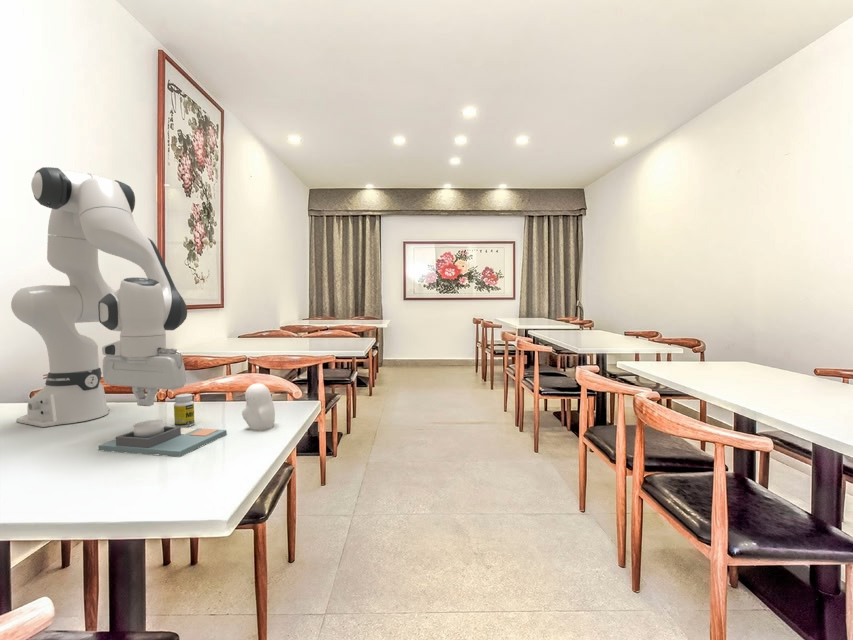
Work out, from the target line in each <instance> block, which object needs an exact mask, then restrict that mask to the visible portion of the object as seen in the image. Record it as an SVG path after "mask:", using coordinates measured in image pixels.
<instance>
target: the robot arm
mask: <svg viewBox="0 0 853 640" xmlns="http://www.w3.org/2000/svg"><path fill="white" fill-rule="evenodd" d="M30 186H31V191H32V193H33V197H34V199H35V201H37V203H39V204H40V205H41V206H43V207H45V208H48V209H51V210H50V215H49V220H48V227H47V228H48V229H47V247H46V248H47V249H46V259H47V262H48V264H49V265H50V267H52V268H53V269H55V270H56V271H59V272H61V273H63V274H65V275H66V276H67V278H68V280H69V285H57V284H56V285H47V284H46V285H45V284H42V285H35V286H34V285H33V286H27V287H22V288H20V289H19V290H17V291H16V292H15V293H14V294H13V296H12V299H11V302H10V309H11V312H12V313H13V315H14V316H15V317H16V318H17V319H18V320H19V321H20V322H22V323H24V324H26V325H27V326H30V327H31V328H32V329H33V330H35V331H36V332H37V333H38V334H39V335H40V337H41V338H42V340H43V342H44V343H45V346H46V352H47V355H48V363H49V372H48V373H46V374H43V375H42V376H43V378H42V379H43V380H45V383H44V384H45V386H44V387H43V388H41V389H40V390H39V391H37V392H36V393H35V394H34V395H33V396H32V397H30V398H29V399H28V401H27V412H26V413H27V414H25V415H22V416H19V417H17V418H16V419H15V420H16V423H20V424H26V425H31V426H36V427H41V428H47V427H53V426H56V425H57V426H58V425H67V424H75V423H80V422H85V421H90V420H94V419H98V418H101V417H103V416H104V417H105V416H106V415H108V414H109V411H110V406H109V405H108V403H107V398H106V393H105V389H104V388H105V387H104V385H103V383H101V380H102V379H103V381H104V383H105V384H106V385H107V386H117V387H129V388H132V389H131V391H132V393H133V395H134V397H135V398H136V401H137V402H136V405H137V406H138V407H140V406H141V407H152V406H153V405H154V404H155V397H156V394H158V390H171V391H173V390H177V389H181V388H184V387H185V385H186V384H187V375H186V369H185V363H184V359H183V354H182V353H181V352H180V351H178V349H176V348H167V338H166V335H167V333H166V331H175V330H176V329H178V328H180V326H181V325H182V324H183V323H185V321H186V319H187V317H188V307H187V304H186V302H185V300H184V298H183V296H182V295H181V294H180V292H179V291H178V289H177V287H176V286H175V284H174V281H173V279H172V277H171V275H170V272H169V271H168V269H167V265H166V263H165V262H164V260H163V257H162V255H161V252H160V251H159V249H158V248H157V245H156V243H154V241H153V240H152V239H150V238H149V237H147V236H146V235H145V234H144V233H143V232H142V231H141V230H140V228H139V227H138V225H137V224H136V222H135V220H134V217H133V212H134V209H135V208H136V207H135V205H136V196H135V193H134V190H133V188H132V187H131V186H130V185H128V184H126V183H124V182H122V181H119V180H117V179H116V180H113V179H110V178H106V177H103V176H100V175H96V174H92V173H84V172H80V171H73V170H66V169H61V168H58V167H49V166H46V167H41V168H39V169H37V170H36V171H35V172H34V176H33V177H32V180H31V185H30ZM99 251H102V252H103V253H106V254H109V255H112V256H116V257H119V258H122V259H124V260H127V261H129V262H132V263H133V264H135V265H137V266H138V267H140V268H141V270H143V272H144V273H145V276H146V278H145V277H125V278H124V279H122V280H121V281H120V286H119V288H118V289H117V290H115V289H114V288H113V287H111V286H109V284H108V283H107V282H106V280H105V279H104V278H103V276H102V273H101V272H100V271H101V270H100V266H99ZM98 322H99V323H100V324H101V326H103V327H105V328H106V329H108V330H110V331H113V332H120V334H119V340H117V341H114V342H112V343H109V344H106V345H103V346H102V348H101V353H102V355H103V356H104V357H103V359H102V368H101V367H100V365H99V364H100V363H99V347H98V346H99V345H98V344H97V342H96V341H95V340H94V339H93V338H91V337H89V336H86V335H83V334H81V333H79V331H78V330H77V327H76V324H77V323H79V324H81V323H82V324H83V323H98ZM145 393H146V394H145Z"/></svg>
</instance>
